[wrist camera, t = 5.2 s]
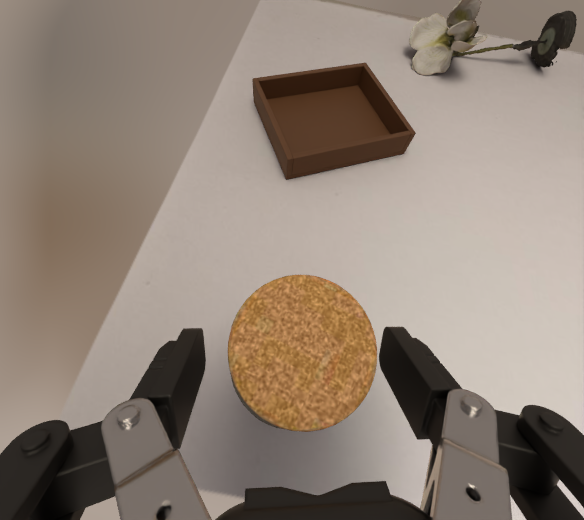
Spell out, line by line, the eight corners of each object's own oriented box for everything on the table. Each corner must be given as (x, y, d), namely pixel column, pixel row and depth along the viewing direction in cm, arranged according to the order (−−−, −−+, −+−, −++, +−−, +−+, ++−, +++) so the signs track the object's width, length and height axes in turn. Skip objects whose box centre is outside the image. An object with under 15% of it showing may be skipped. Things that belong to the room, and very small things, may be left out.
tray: (286, 179, 30) (287, 159, 27) (253, 102, 35) (252, 78, 32) (404, 153, 33) (416, 133, 30) (359, 85, 38) (365, 62, 35)
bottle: (284, 317, 24) (302, 229, 10) (333, 369, 22) (432, 347, 9) (231, 367, 22) (167, 341, 8) (281, 428, 20) (304, 517, 7)
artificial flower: (545, 90, 43) (617, 27, 33) (401, 96, 44) (428, 36, 34) (537, 41, 44) (604, -34, 34) (397, 48, 45) (423, -23, 35)
